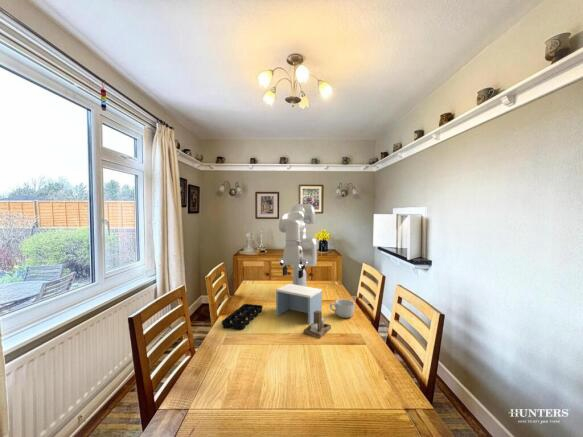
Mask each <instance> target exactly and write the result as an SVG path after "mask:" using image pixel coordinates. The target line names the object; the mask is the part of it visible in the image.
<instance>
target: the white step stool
mask: <svg viewBox="0 0 583 437" xmlns="http://www.w3.org/2000/svg"><path fill="white" fill-rule="evenodd" d="M322 291H323V289H322V288H316V287H310V286H307V285H306V286H300V285H294V284H293V283H287V284H286V285H282V286H280V287H278V288H276V290H275V298H276V299H275V316H277V317H279V316H281V315H282V314H283V313H286V312H287V311H289V310H291V311H297V312H301V313H305V314H307V324H308V325H311V323H313V322H314V312H315V311H316V310H318V311H322V301H323V300H322V296H323V294H322V293H323V292H322Z"/></svg>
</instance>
